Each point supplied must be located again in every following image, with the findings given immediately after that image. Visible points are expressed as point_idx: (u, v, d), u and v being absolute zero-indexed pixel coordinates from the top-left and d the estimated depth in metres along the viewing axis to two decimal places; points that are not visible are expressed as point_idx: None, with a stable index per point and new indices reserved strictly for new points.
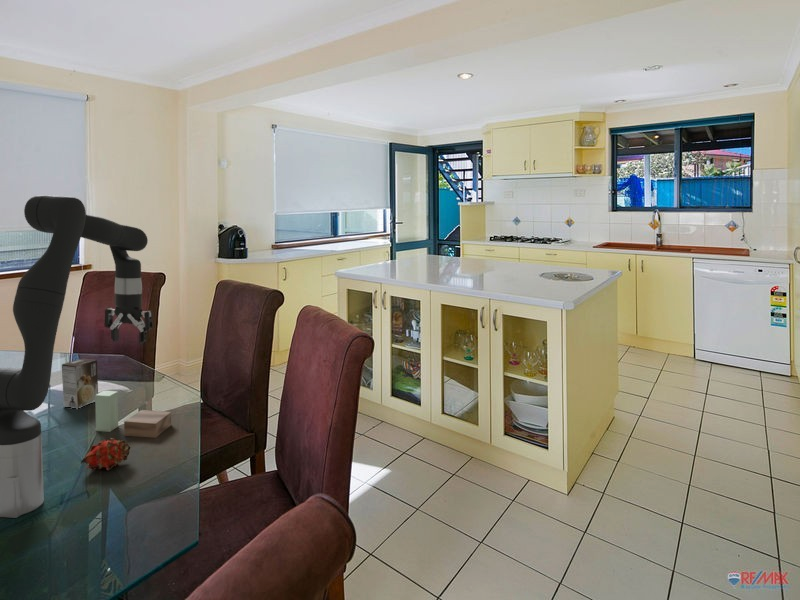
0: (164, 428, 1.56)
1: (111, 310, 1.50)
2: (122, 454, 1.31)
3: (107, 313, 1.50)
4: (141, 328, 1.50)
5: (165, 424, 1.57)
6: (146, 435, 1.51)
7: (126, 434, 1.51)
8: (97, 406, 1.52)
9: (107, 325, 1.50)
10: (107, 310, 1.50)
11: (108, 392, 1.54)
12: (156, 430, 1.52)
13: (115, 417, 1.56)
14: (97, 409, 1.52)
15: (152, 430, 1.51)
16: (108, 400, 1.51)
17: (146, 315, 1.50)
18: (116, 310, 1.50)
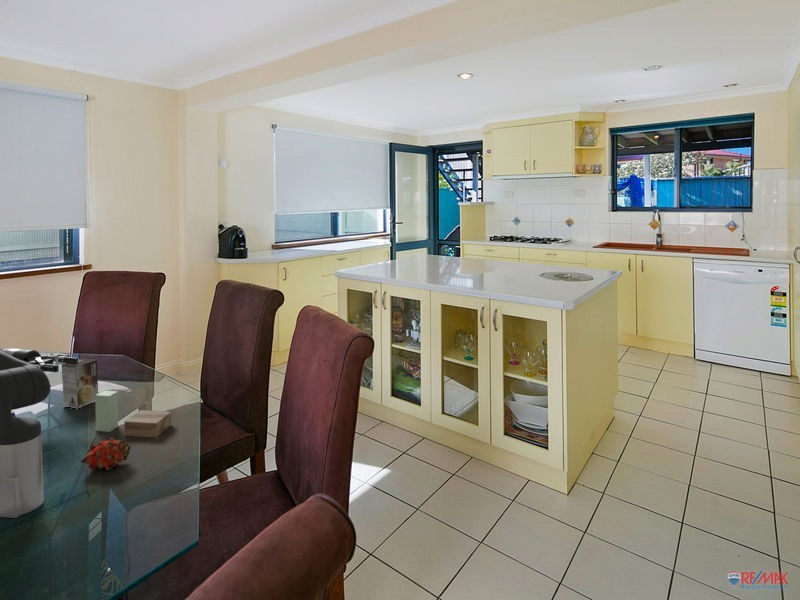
0: (164, 428, 1.57)
1: None
2: (122, 454, 1.31)
3: None
4: (63, 356, 1.57)
5: (165, 424, 1.57)
6: (147, 435, 1.51)
7: (126, 434, 1.51)
8: (97, 406, 1.52)
9: (37, 365, 1.47)
10: None
11: (108, 392, 1.54)
12: (157, 430, 1.52)
13: (115, 417, 1.56)
14: (97, 409, 1.52)
15: (153, 430, 1.51)
16: (108, 400, 1.51)
17: (54, 353, 1.59)
18: (28, 361, 1.50)
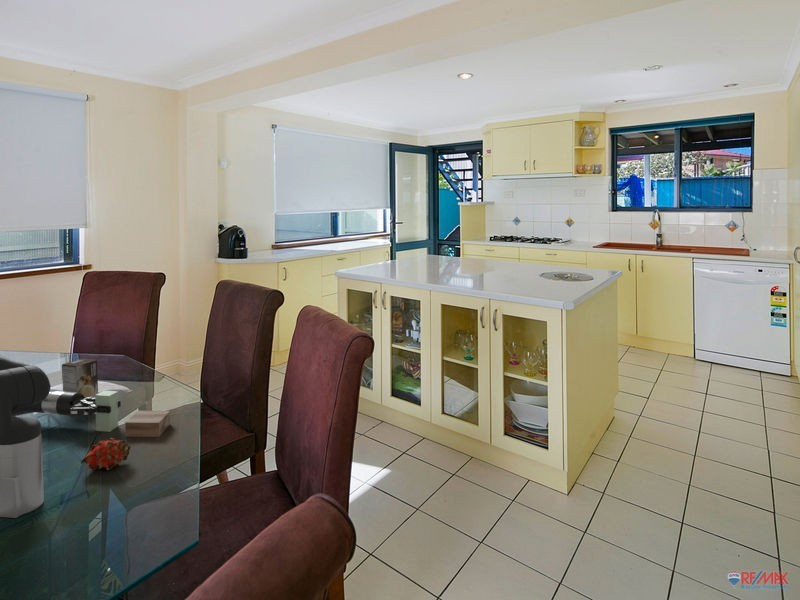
0: (165, 427, 1.57)
1: None
2: (122, 454, 1.31)
3: (76, 407, 1.48)
4: None
5: (165, 423, 1.58)
6: (149, 435, 1.51)
7: (127, 435, 1.50)
8: None
9: (90, 407, 1.50)
10: (72, 407, 1.48)
11: (108, 392, 1.54)
12: (159, 429, 1.52)
13: (115, 417, 1.56)
14: None
15: (155, 430, 1.51)
16: (108, 400, 1.52)
17: None
18: (74, 405, 1.51)
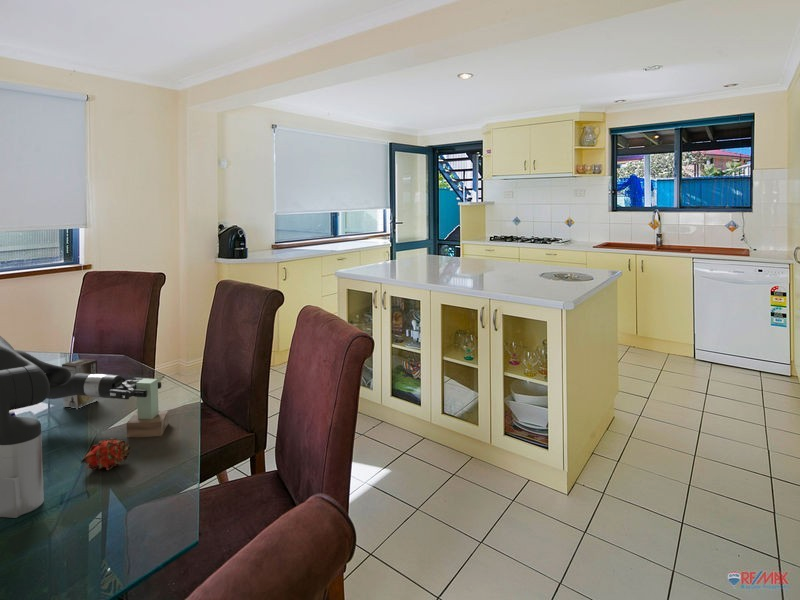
0: (165, 426, 1.58)
1: None
2: (122, 454, 1.31)
3: (115, 389, 1.48)
4: None
5: (165, 423, 1.58)
6: (151, 434, 1.52)
7: (129, 436, 1.50)
8: None
9: (127, 391, 1.48)
10: (112, 389, 1.48)
11: (148, 380, 1.54)
12: (161, 428, 1.53)
13: (156, 405, 1.56)
14: (138, 397, 1.52)
15: (158, 429, 1.52)
16: (149, 387, 1.52)
17: (136, 378, 1.60)
18: (116, 387, 1.51)
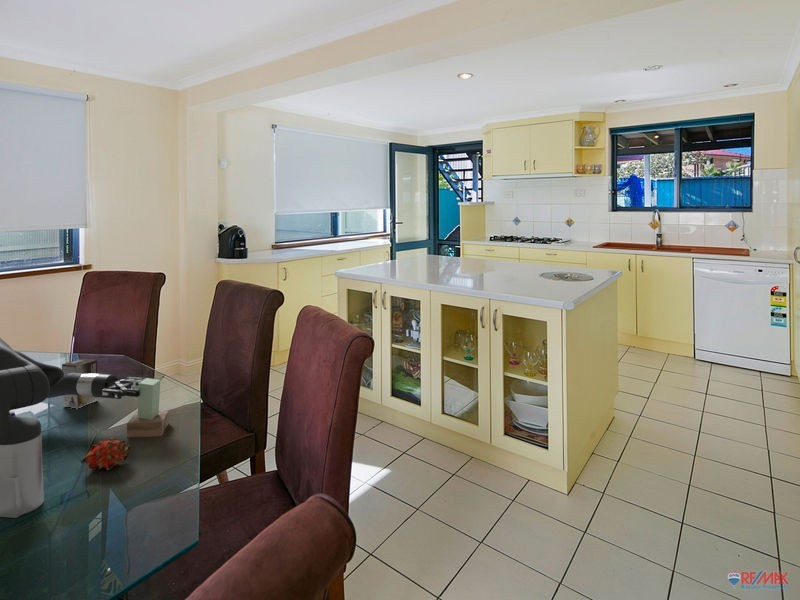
0: (165, 427, 1.58)
1: None
2: (122, 454, 1.31)
3: (107, 389, 1.48)
4: (139, 380, 1.59)
5: (166, 423, 1.58)
6: (151, 435, 1.52)
7: (129, 436, 1.50)
8: (140, 393, 1.51)
9: (119, 390, 1.48)
10: (104, 389, 1.48)
11: (151, 381, 1.53)
12: (162, 428, 1.53)
13: (156, 405, 1.56)
14: (140, 397, 1.52)
15: (158, 429, 1.52)
16: (151, 389, 1.51)
17: (129, 377, 1.60)
18: (109, 386, 1.51)
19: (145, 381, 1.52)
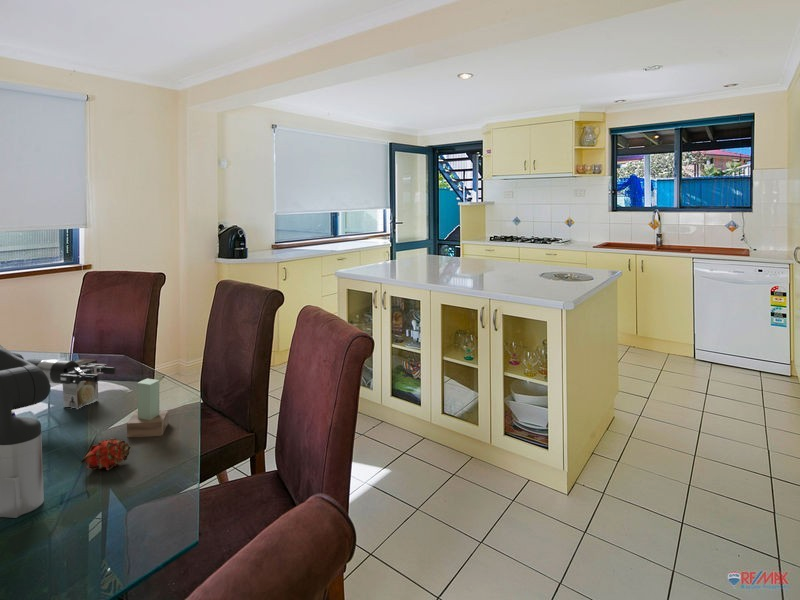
0: (165, 426, 1.58)
1: None
2: (122, 454, 1.31)
3: (65, 374, 1.47)
4: (101, 366, 1.58)
5: (165, 423, 1.58)
6: (151, 434, 1.52)
7: (129, 436, 1.50)
8: (139, 393, 1.52)
9: (77, 375, 1.47)
10: (62, 374, 1.47)
11: (150, 381, 1.54)
12: (162, 428, 1.53)
13: (156, 406, 1.55)
14: (139, 397, 1.52)
15: (158, 429, 1.52)
16: (149, 388, 1.51)
17: (91, 364, 1.60)
18: (68, 372, 1.50)
19: (144, 381, 1.53)
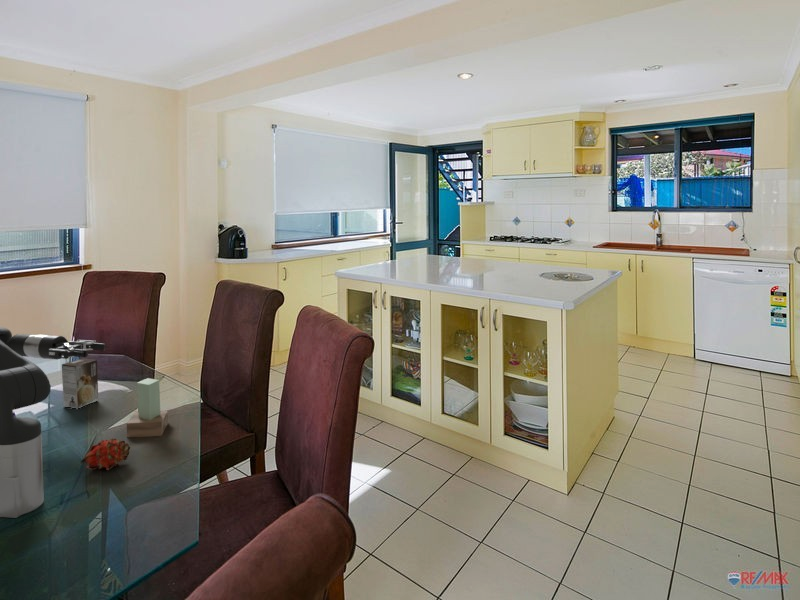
0: (165, 426, 1.58)
1: None
2: (122, 454, 1.31)
3: (54, 349, 1.46)
4: (90, 342, 1.56)
5: (165, 423, 1.58)
6: (151, 434, 1.52)
7: (129, 436, 1.50)
8: (138, 393, 1.52)
9: (66, 350, 1.45)
10: (51, 348, 1.46)
11: (149, 381, 1.54)
12: (162, 428, 1.53)
13: (157, 405, 1.55)
14: (139, 396, 1.53)
15: (158, 429, 1.52)
16: (147, 388, 1.51)
17: (81, 340, 1.58)
18: (57, 347, 1.48)
19: (144, 381, 1.53)
